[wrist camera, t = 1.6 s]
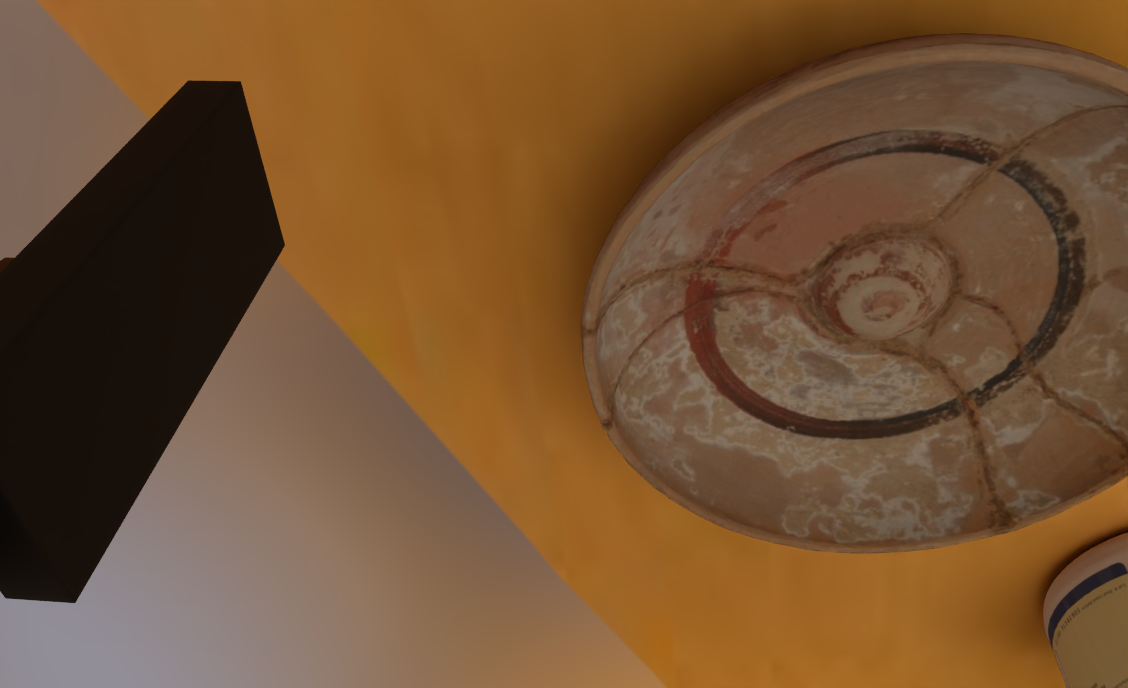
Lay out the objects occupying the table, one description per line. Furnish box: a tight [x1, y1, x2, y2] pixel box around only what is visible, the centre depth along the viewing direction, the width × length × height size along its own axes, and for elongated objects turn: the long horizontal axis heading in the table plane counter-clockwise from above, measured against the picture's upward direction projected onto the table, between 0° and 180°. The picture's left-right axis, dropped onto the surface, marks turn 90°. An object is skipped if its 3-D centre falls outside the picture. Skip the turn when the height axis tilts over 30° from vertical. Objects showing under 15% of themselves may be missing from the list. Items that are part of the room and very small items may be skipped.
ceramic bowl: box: [581, 33, 1128, 553], centre depth 34 cm, size 23×24×5 cm
